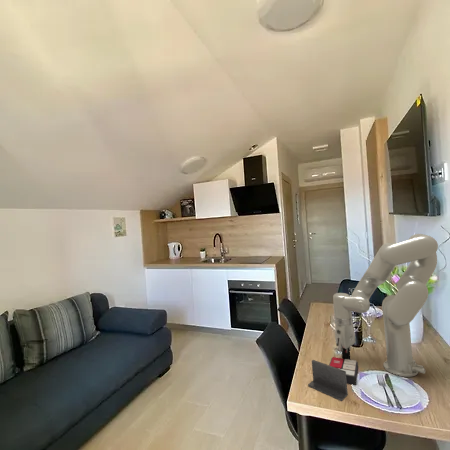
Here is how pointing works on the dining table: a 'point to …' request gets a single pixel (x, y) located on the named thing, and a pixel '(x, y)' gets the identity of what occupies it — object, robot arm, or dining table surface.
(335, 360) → the red and tan block
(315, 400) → the dining table surface
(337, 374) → the bookend
